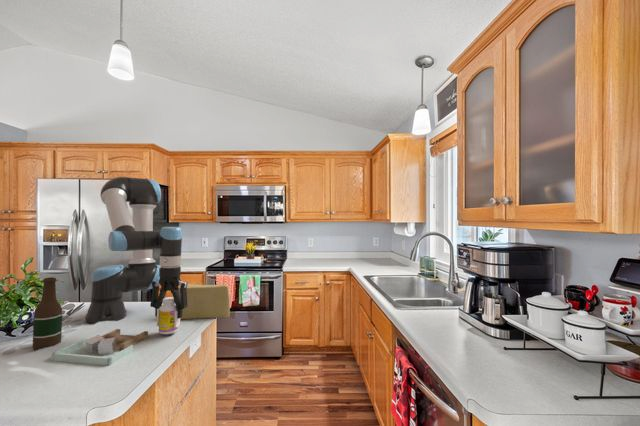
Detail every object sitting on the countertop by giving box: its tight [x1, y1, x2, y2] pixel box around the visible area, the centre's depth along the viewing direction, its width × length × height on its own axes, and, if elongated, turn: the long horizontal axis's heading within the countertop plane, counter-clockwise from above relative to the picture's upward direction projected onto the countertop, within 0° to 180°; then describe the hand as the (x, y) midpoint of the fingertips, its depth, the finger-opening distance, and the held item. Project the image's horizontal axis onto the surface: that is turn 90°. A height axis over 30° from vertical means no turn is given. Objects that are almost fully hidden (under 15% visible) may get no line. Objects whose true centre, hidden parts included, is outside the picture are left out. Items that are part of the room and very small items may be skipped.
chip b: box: [97, 337, 116, 356], centre depth 102 cm, size 4×4×4 cm
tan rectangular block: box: [178, 283, 231, 321], centre depth 143 cm, size 22×10×15 cm, turn 94°
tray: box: [51, 340, 134, 366], centre depth 99 cm, size 10×20×3 cm, turn 83°
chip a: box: [84, 334, 105, 354], centre depth 103 cm, size 4×4×4 cm
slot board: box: [101, 328, 149, 351], centre depth 110 cm, size 12×13×3 cm
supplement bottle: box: [158, 296, 179, 335], centre depth 119 cm, size 7×7×13 cm
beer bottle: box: [32, 276, 63, 352], centre depth 107 cm, size 8×8×24 cm
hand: (168, 325), depth 118 cm, fingers closed on supplement bottle, 7 cm apart
